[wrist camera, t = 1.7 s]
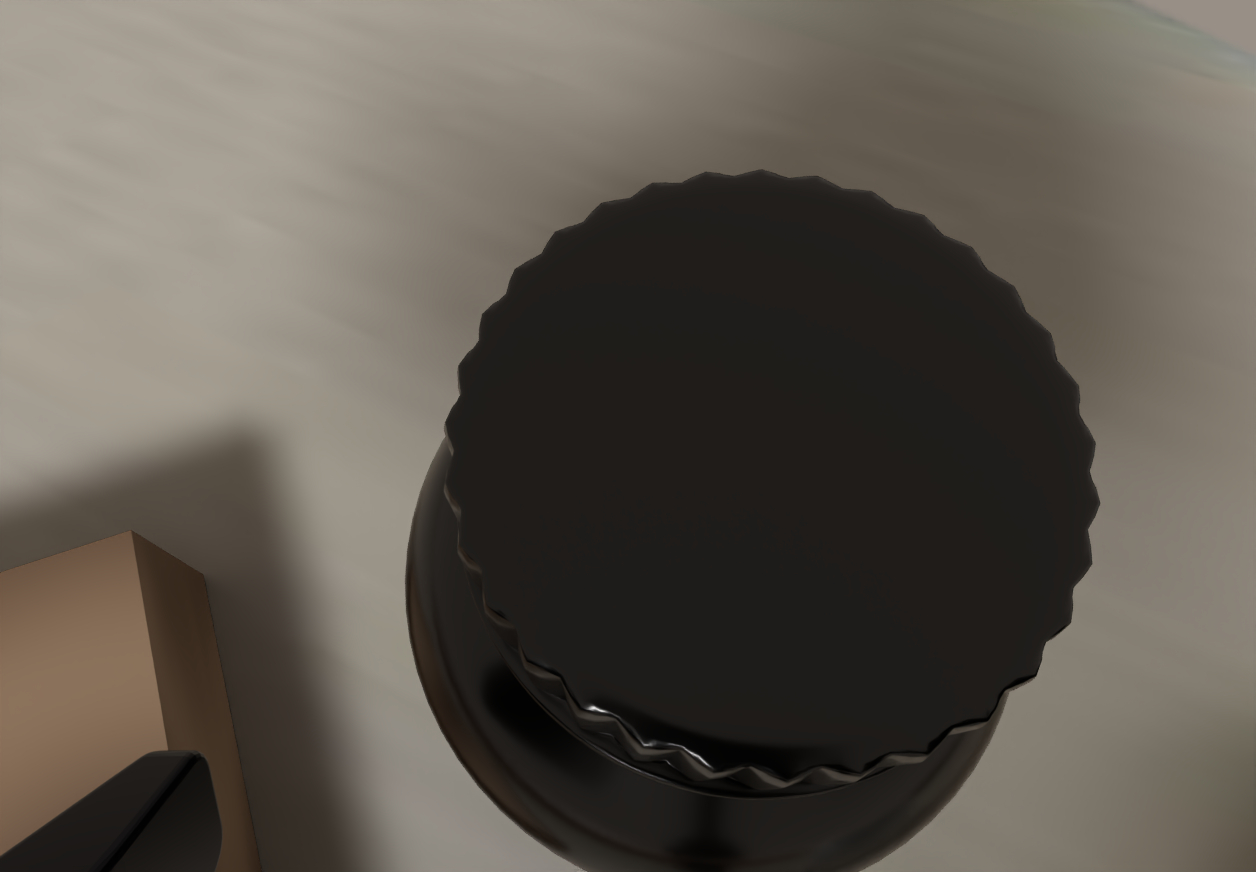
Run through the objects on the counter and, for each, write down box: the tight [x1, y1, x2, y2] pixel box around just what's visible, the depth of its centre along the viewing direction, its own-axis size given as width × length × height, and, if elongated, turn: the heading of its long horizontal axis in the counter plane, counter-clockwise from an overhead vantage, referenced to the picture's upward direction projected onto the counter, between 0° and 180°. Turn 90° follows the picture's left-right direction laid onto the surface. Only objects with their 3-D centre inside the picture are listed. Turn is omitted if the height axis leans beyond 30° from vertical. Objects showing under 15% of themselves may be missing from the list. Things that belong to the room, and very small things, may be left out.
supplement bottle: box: [405, 169, 1100, 872], centre depth 12 cm, size 7×7×12 cm
